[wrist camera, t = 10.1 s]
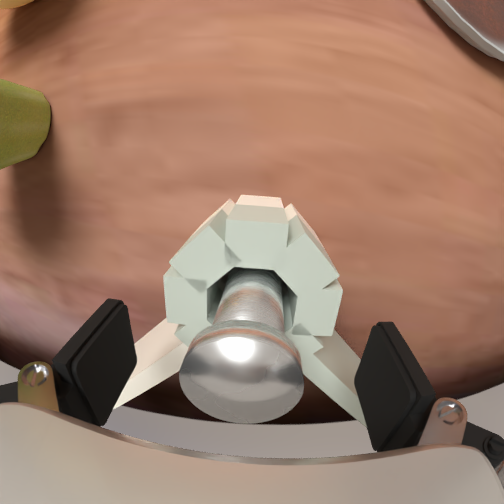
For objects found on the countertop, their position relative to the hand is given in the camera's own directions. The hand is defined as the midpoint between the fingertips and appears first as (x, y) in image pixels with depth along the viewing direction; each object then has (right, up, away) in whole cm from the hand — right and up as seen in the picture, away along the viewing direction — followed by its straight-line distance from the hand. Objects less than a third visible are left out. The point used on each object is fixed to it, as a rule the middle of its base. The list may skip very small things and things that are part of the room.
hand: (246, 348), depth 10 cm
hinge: (0, 0, +10) cm, 11 cm away
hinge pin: (+1, +3, +9) cm, 10 cm away
